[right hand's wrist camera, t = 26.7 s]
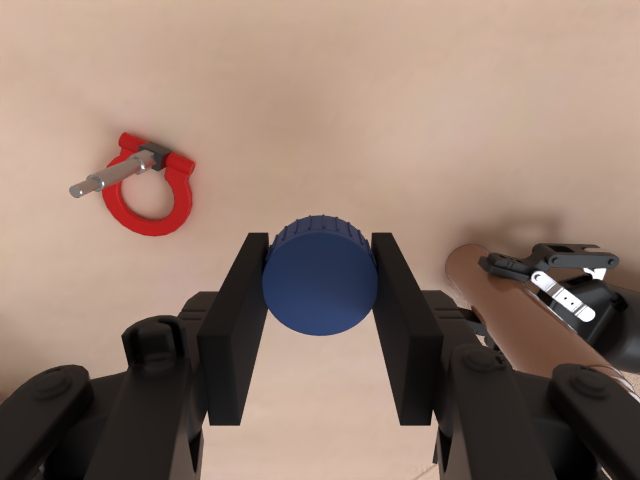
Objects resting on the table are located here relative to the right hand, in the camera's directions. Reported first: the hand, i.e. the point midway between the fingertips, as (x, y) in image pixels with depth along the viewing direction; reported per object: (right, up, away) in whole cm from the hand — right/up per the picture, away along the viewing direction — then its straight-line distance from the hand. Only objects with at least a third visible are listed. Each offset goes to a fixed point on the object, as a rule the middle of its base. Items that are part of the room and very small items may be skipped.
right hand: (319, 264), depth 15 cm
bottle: (+16, -2, +25) cm, 29 cm away
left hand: (+13, -4, +18) cm, 23 cm away
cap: (0, -1, -2) cm, 2 cm away
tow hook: (-16, +6, +21) cm, 28 cm away
